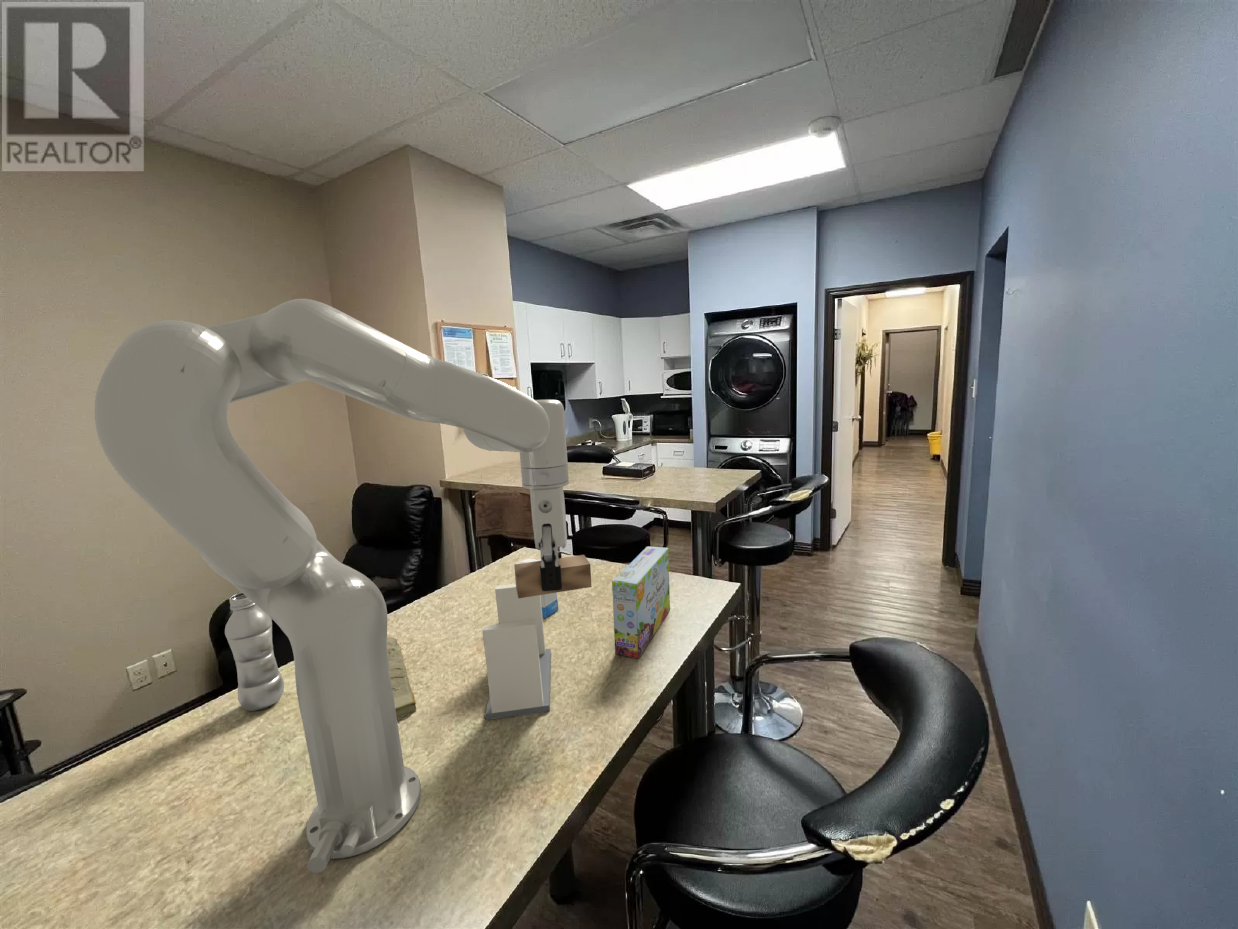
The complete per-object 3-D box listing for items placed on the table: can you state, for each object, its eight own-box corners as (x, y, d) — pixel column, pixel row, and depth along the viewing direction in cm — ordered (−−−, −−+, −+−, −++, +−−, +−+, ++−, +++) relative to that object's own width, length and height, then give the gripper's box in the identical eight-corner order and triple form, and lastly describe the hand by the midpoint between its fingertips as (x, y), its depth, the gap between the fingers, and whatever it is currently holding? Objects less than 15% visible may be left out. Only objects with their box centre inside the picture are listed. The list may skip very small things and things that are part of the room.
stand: (549, 711, 77) (541, 623, 74) (486, 720, 75) (475, 631, 73) (551, 653, 93) (544, 580, 91) (498, 660, 92) (490, 586, 90)
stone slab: (392, 625, 104) (419, 688, 78) (395, 643, 104) (422, 711, 79) (326, 643, 97) (332, 719, 72) (329, 663, 98) (336, 744, 72)
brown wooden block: (585, 576, 84) (583, 554, 84) (591, 587, 80) (590, 564, 79) (516, 586, 81) (514, 564, 81) (518, 598, 76) (516, 574, 76)
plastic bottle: (282, 687, 88) (262, 584, 85) (290, 703, 83) (269, 594, 80) (238, 705, 83) (215, 596, 80) (243, 722, 79) (220, 608, 75)
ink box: (559, 609, 112) (555, 561, 110) (545, 619, 108) (540, 569, 106) (532, 603, 117) (527, 556, 115) (517, 611, 112) (513, 563, 111)
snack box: (641, 660, 89) (637, 583, 87) (614, 655, 91) (608, 581, 89) (672, 609, 109) (669, 546, 106) (648, 606, 111) (645, 544, 108)
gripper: (568, 484, 70) (575, 602, 72) (568, 467, 87) (574, 563, 89) (515, 487, 69) (525, 606, 72) (526, 469, 86) (534, 566, 88)
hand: (552, 581), depth 80 cm, fingers closed on brown wooden block, 5 cm apart
